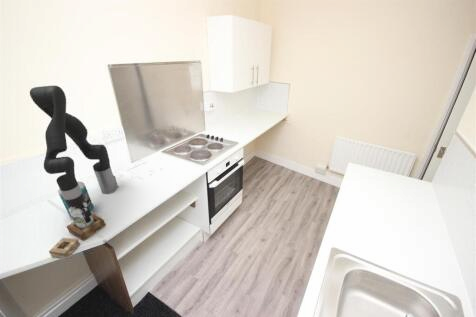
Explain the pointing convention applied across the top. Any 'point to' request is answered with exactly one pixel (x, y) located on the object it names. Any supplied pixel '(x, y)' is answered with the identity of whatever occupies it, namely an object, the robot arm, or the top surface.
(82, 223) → the syrup box
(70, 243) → the tan wooden square frame
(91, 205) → the food can
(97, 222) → the brown wooden square frame
